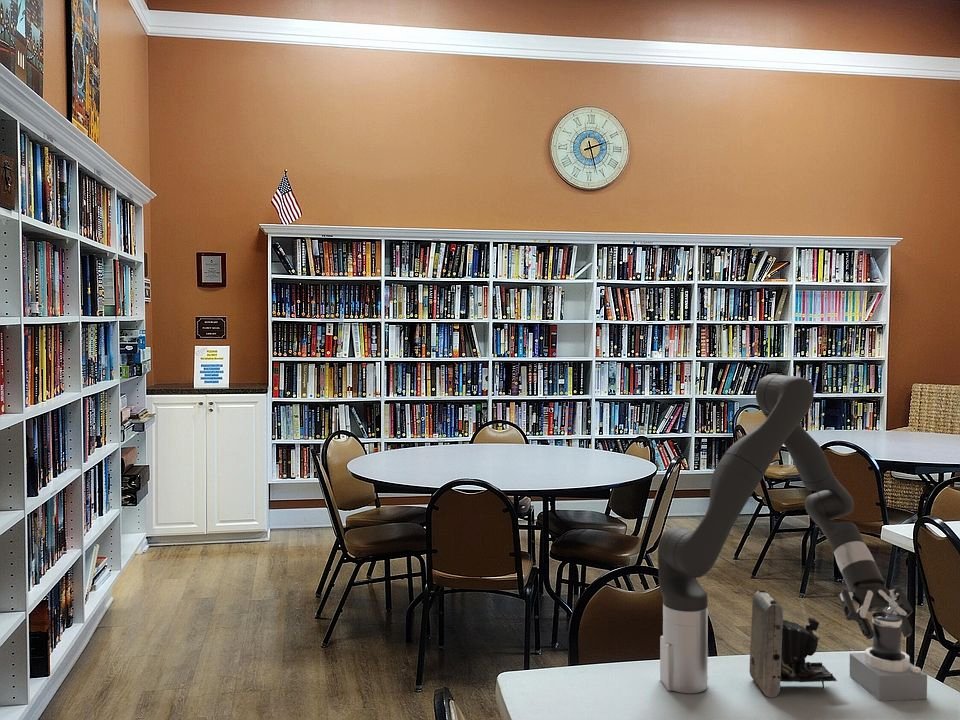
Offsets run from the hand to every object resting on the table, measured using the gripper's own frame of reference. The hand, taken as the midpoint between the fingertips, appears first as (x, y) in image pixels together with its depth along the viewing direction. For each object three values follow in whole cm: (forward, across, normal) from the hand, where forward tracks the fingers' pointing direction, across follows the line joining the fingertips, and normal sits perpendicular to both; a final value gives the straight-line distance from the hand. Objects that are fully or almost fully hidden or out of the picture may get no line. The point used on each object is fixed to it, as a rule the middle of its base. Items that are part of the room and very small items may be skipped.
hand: (889, 636), depth 172 cm
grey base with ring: (+7, 0, +8) cm, 11 cm away
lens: (+4, 0, +5) cm, 6 cm away
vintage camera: (+6, -20, +11) cm, 23 cm away
